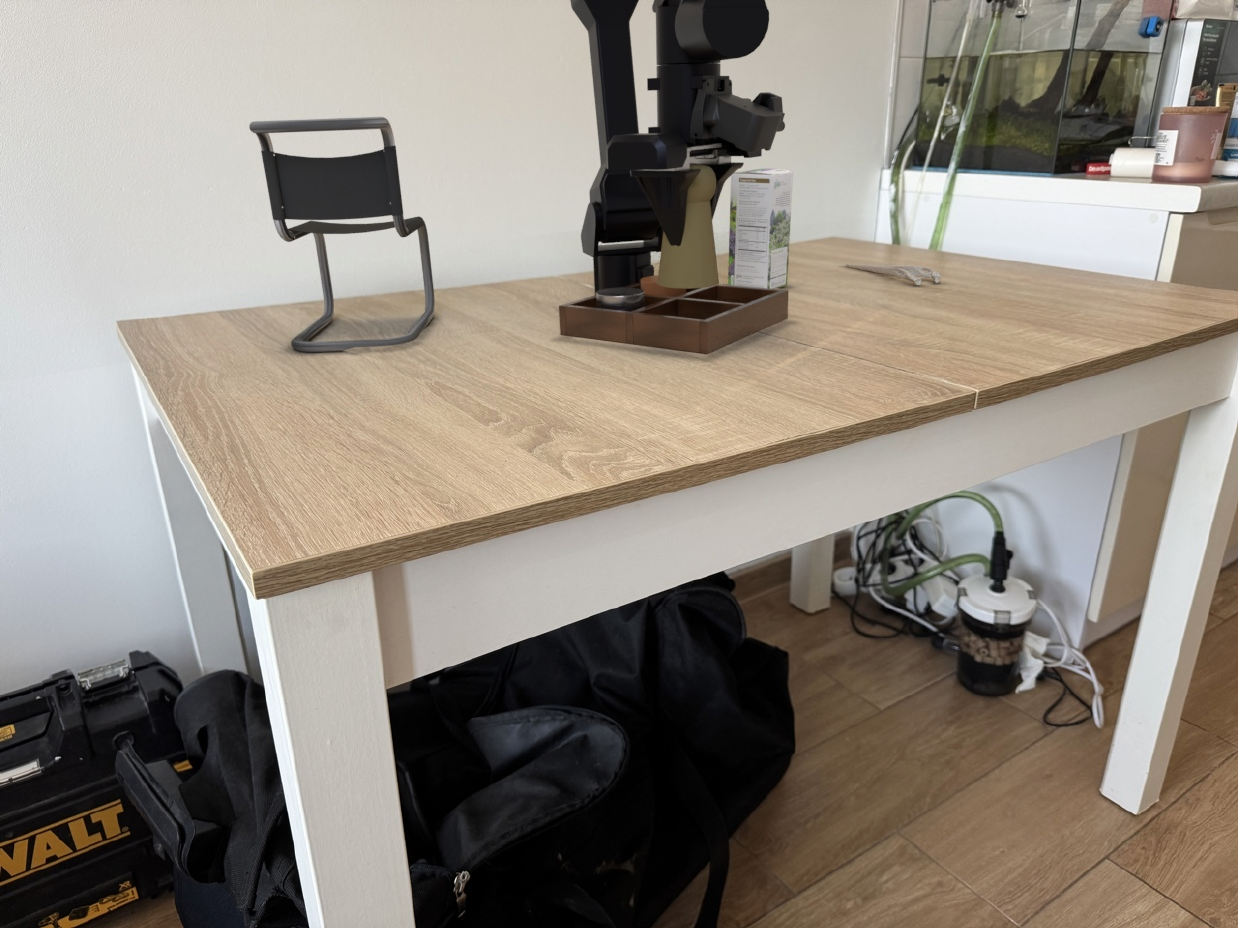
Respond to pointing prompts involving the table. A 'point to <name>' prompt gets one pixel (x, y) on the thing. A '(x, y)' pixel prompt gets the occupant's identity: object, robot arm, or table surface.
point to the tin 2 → (659, 287)
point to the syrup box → (760, 228)
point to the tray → (680, 318)
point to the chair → (339, 208)
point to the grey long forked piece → (901, 272)
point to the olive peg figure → (693, 240)
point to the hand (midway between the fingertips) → (688, 242)
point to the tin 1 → (620, 299)
